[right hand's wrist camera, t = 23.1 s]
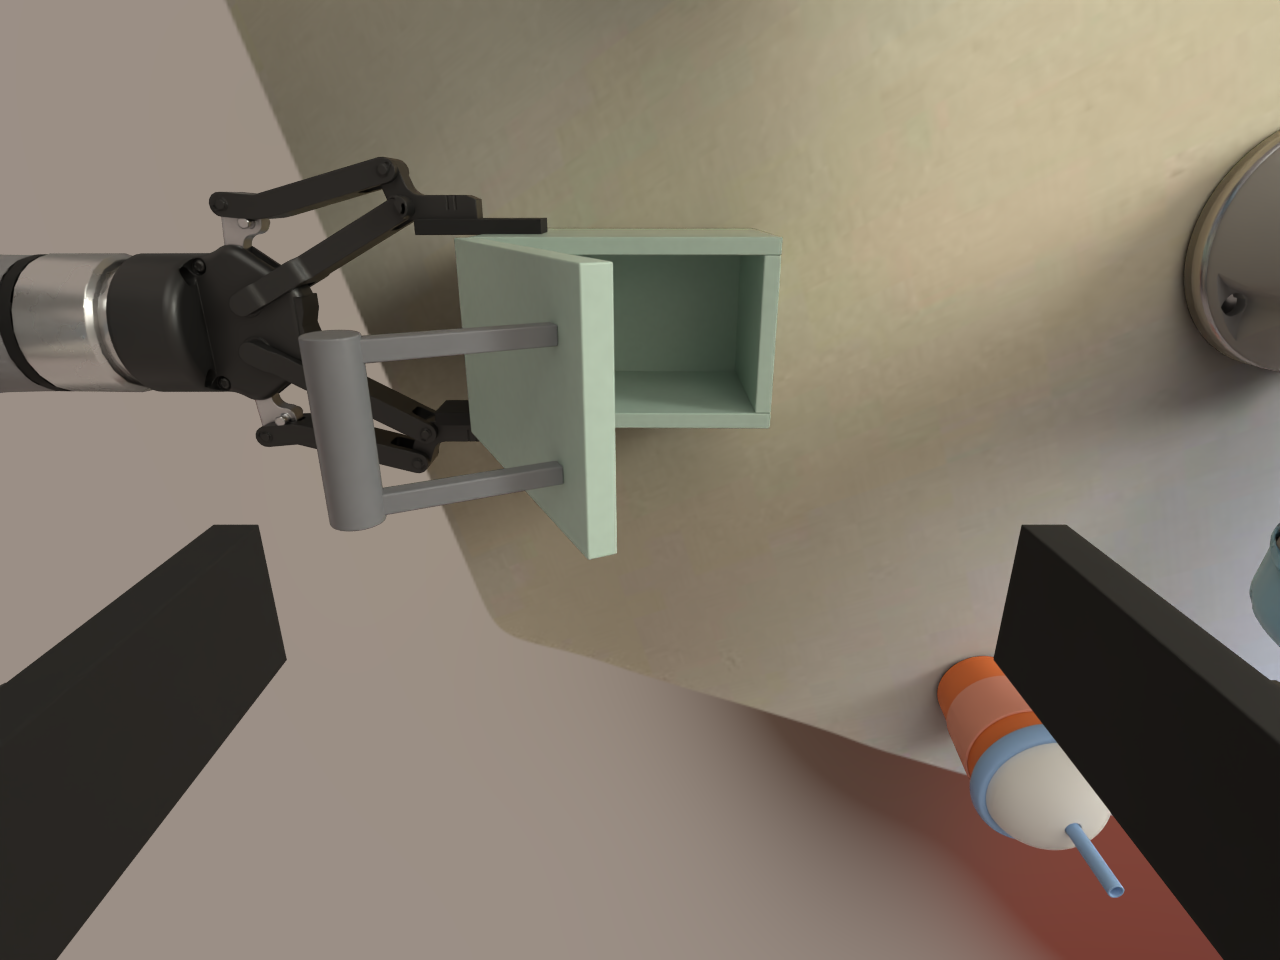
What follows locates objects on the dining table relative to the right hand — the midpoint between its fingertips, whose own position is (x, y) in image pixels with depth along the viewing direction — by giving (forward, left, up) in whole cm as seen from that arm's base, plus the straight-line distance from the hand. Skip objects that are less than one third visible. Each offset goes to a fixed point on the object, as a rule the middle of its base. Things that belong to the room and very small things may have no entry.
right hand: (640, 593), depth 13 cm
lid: (+1, -4, -18) cm, 18 cm away
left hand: (+1, -5, -30) cm, 30 cm away
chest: (0, 0, -36) cm, 36 cm away
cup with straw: (+21, +33, -36) cm, 54 cm away
